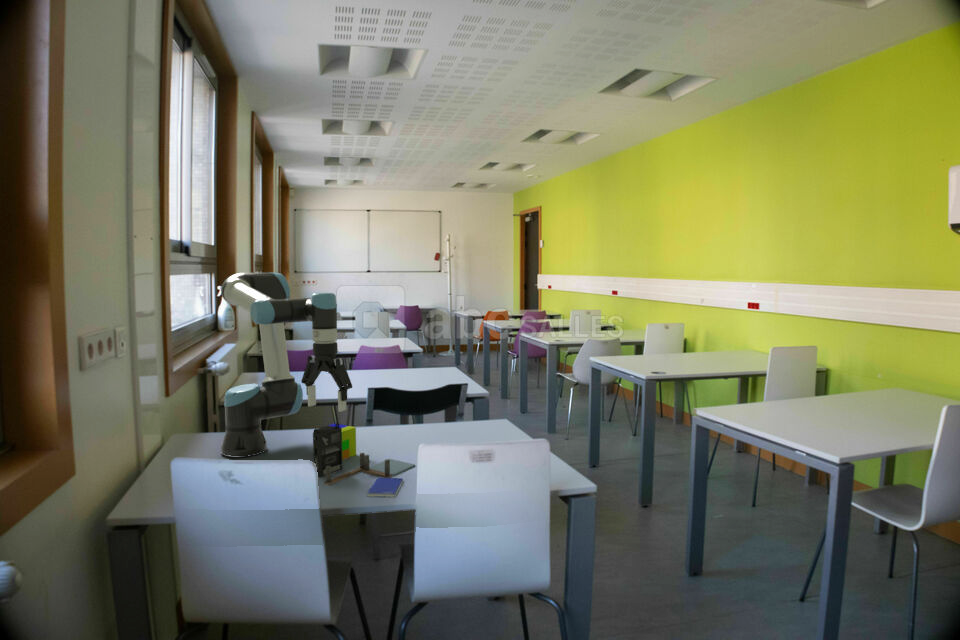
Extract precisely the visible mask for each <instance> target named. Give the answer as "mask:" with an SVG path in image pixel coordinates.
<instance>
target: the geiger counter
mask: <svg viewBox="0 0 960 640" xmlns="http://www.w3.org/2000/svg"><path fill="white" fill-rule="evenodd" d="M339 424H340V423H335V427H333V428H330V429H326V430H322V431H319V429H318V428H314V430H315V432H314V431H313V432H312V444H313V445H312V449H313V450H312V453H313V454H312V456H313V464H314V463H315V464H316V467H317V472H318V477H317V478H323V477H326V476H325V475H326V466H331V473H332V474H334V472H335V473H338V472H339V470H340V471H343V460H342V459H343V458H342V428H340V426H339ZM337 425H338V426H337ZM316 431H318V432H316Z"/></svg>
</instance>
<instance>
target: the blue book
mask: <svg viewBox="0 0 960 640" xmlns="http://www.w3.org/2000/svg"><path fill="white" fill-rule="evenodd" d="M403 482H404V478H402V477H401V478H400V477H389V478H384V477H377V478H376V479H375V481H374V482H373V484H372V485H371V487H370V488H369V489H368V492H367V493H366V497H374V496H386V497H385V498H395V497H396V496H397V494H398V492H399V490H400V488H401V486H402V484H403ZM389 496H390V497H389Z"/></svg>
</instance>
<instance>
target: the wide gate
mask: <svg viewBox="0 0 960 640" xmlns="http://www.w3.org/2000/svg"><path fill="white" fill-rule="evenodd" d="M364 455H366V454H365V453H364V452H360V453H359V467H357V468H355V469H354V468H353V470H350V471H347V472H345V473H343V474H340V475H338V476H336V477H333V478H332V474H331V466H326V476H325V481H324V485H326V484H327V485H326V486H331V485H333V484H336V483H338V482H341V481H342V479H343V480H345V479H348V478H349V476H350V477H352V476H354V475H356V473H357V474H359V473H361V471H362V472H363V470H364ZM358 472H359V473H358ZM351 475H352V476H351ZM330 484H331V485H330Z"/></svg>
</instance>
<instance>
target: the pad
mask: <svg viewBox="0 0 960 640" xmlns="http://www.w3.org/2000/svg"><path fill="white" fill-rule="evenodd" d="M388 459H389V460H390V474H391V477H394V476H396V475H399V474H401V473H403V472H405V471H407V470H409V469H411V468H413V467H415V466H416V464H415V463H410V462H406V461H401V460H398V459H393V458H388ZM369 469H372V470H376V471H380V472H384V473H385V460H383V461H381V462H379V463H376V464H374V465H372V466H369Z"/></svg>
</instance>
